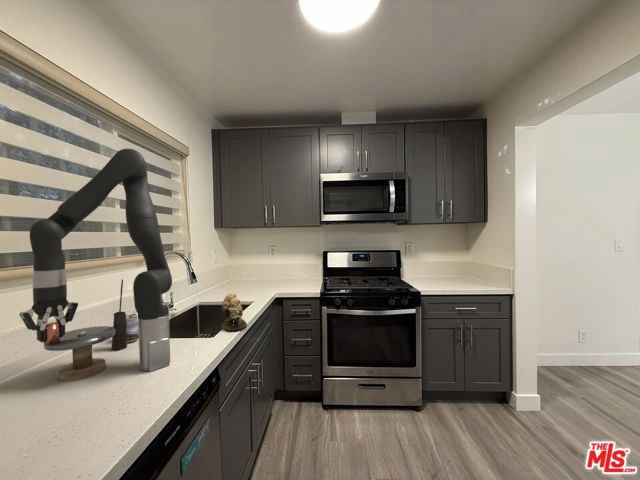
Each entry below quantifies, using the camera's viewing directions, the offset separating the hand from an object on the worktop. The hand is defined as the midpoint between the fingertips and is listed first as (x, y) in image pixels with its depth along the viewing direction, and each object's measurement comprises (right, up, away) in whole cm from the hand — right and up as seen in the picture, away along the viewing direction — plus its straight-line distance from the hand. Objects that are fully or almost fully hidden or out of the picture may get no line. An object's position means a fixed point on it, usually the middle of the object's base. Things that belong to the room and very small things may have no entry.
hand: (51, 339), depth 86 cm
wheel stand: (+4, -13, +7) cm, 16 cm away
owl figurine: (+42, -12, +50) cm, 66 cm away
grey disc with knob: (+4, -3, +6) cm, 8 cm away
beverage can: (+1, -13, +34) cm, 36 cm away
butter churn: (+2, -13, +25) cm, 29 cm away
